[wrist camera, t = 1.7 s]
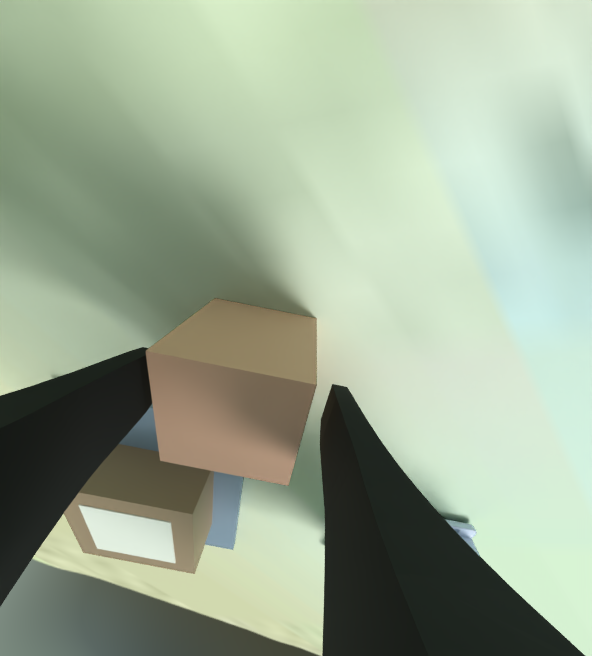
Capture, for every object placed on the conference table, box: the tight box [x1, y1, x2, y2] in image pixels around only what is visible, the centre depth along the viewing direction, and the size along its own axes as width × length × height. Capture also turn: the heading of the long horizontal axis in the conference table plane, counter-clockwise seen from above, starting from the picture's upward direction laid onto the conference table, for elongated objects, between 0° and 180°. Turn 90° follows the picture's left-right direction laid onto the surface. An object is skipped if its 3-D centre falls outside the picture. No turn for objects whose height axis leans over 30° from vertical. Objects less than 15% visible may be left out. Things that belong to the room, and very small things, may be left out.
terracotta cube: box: [146, 298, 317, 486], centre depth 10 cm, size 5×5×5 cm
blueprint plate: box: [64, 404, 243, 574], centre depth 16 cm, size 12×16×4 cm
